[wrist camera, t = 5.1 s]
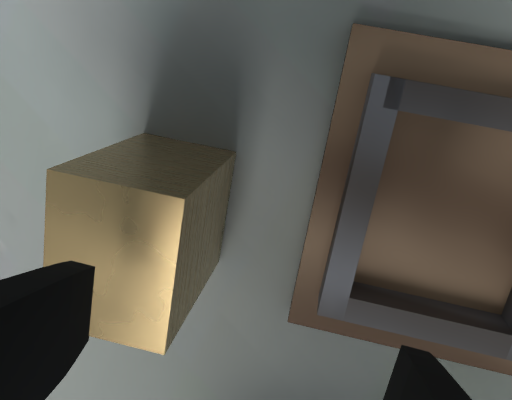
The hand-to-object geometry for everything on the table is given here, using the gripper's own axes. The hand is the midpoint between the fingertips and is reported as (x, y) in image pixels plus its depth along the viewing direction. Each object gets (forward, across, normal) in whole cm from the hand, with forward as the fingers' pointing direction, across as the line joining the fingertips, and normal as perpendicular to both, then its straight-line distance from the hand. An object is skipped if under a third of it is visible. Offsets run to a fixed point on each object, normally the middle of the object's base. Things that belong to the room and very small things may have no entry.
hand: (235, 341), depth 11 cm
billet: (+10, +4, 0) cm, 10 cm away
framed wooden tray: (+9, -6, -2) cm, 11 cm away
